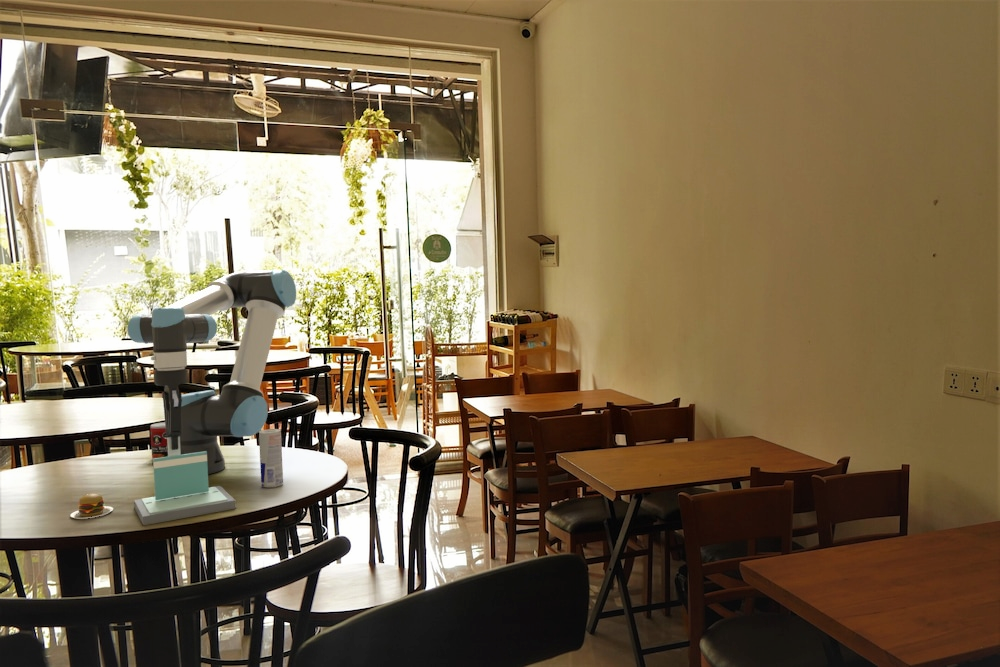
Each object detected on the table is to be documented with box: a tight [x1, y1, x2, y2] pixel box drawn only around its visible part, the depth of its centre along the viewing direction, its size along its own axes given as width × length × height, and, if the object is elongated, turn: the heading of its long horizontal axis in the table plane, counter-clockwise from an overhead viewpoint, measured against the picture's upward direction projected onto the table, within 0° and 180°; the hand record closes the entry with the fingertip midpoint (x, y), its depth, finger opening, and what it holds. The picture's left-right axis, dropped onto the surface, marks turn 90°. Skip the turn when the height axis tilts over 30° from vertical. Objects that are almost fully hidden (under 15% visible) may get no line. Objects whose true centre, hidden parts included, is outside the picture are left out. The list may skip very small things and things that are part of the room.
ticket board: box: [133, 485, 237, 526], centre depth 171 cm, size 16×20×2 cm
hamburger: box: [69, 493, 114, 520], centre depth 168 cm, size 12×12×6 cm
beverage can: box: [258, 428, 284, 489], centre depth 189 cm, size 6×6×15 cm
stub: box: [152, 451, 209, 500], centre depth 173 cm, size 1×12×10 cm, turn 124°
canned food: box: [150, 421, 168, 459], centre depth 225 cm, size 8×8×11 cm
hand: (174, 461), depth 179 cm, fingers closed
